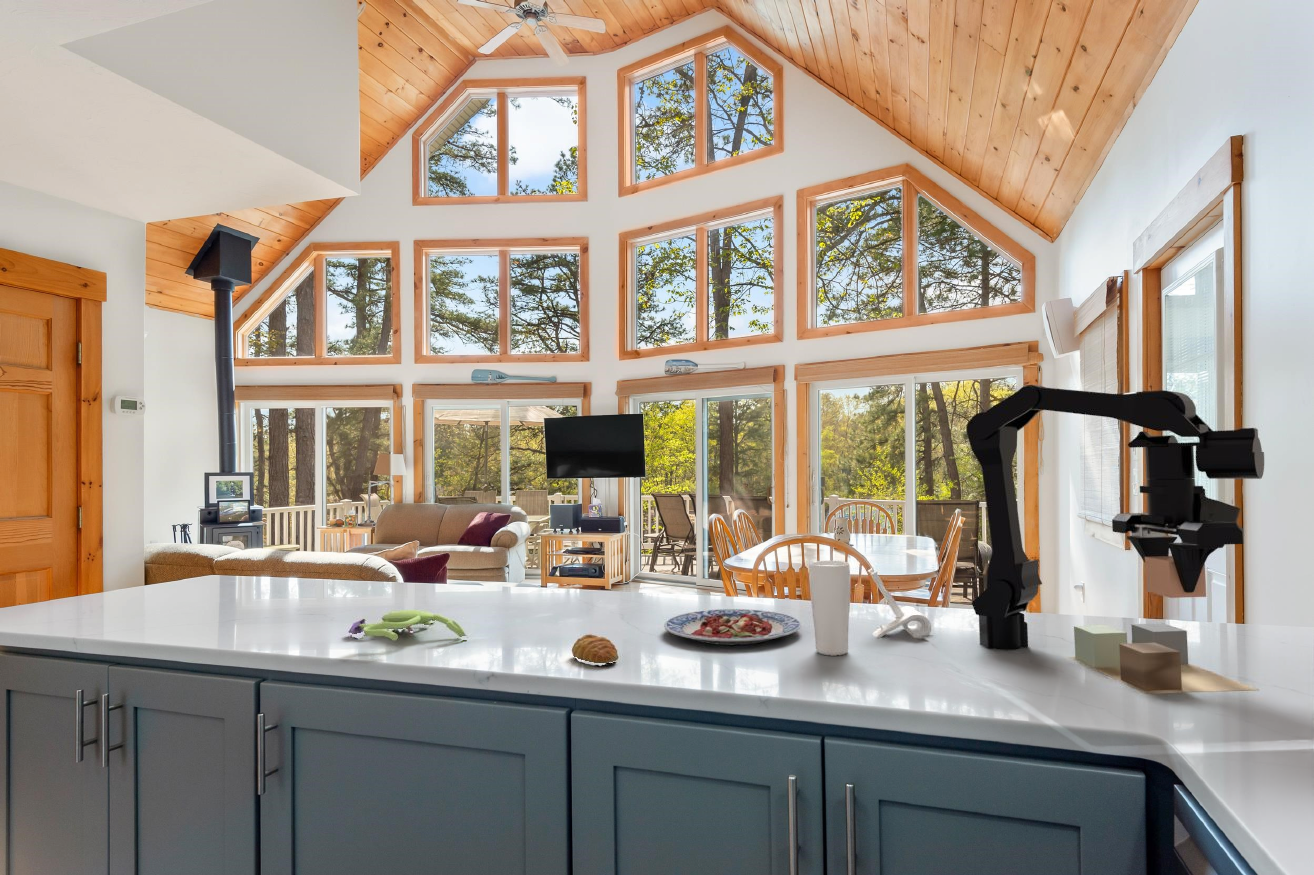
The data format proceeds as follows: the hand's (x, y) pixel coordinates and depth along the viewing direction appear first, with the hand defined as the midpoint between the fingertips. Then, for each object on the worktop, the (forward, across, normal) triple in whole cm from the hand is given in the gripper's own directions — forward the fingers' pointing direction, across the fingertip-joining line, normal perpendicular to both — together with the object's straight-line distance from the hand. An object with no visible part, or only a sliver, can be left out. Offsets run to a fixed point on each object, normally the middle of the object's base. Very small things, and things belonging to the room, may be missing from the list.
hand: (1175, 589), depth 105 cm
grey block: (+12, +8, -2) cm, 15 cm away
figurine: (+14, +41, +122) cm, 129 cm away
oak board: (+13, +2, +2) cm, 13 cm away
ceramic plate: (+14, +37, +59) cm, 71 cm away
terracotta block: (+1, 0, 0) cm, 1 cm away
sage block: (+12, +8, +6) cm, 16 cm away
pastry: (+14, +22, +84) cm, 87 cm away
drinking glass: (+13, +21, +44) cm, 51 cm away
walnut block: (+12, -4, +6) cm, 14 cm away
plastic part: (+13, +33, +28) cm, 46 cm away
